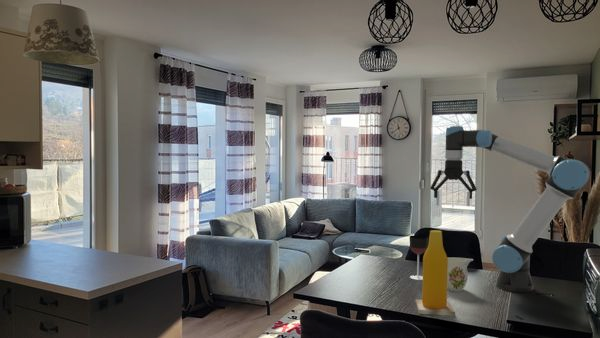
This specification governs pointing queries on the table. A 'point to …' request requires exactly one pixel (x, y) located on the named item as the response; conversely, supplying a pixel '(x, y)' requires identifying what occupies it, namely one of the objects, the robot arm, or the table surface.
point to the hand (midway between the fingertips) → (452, 205)
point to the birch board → (425, 310)
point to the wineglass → (418, 250)
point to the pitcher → (457, 273)
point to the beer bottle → (435, 273)
